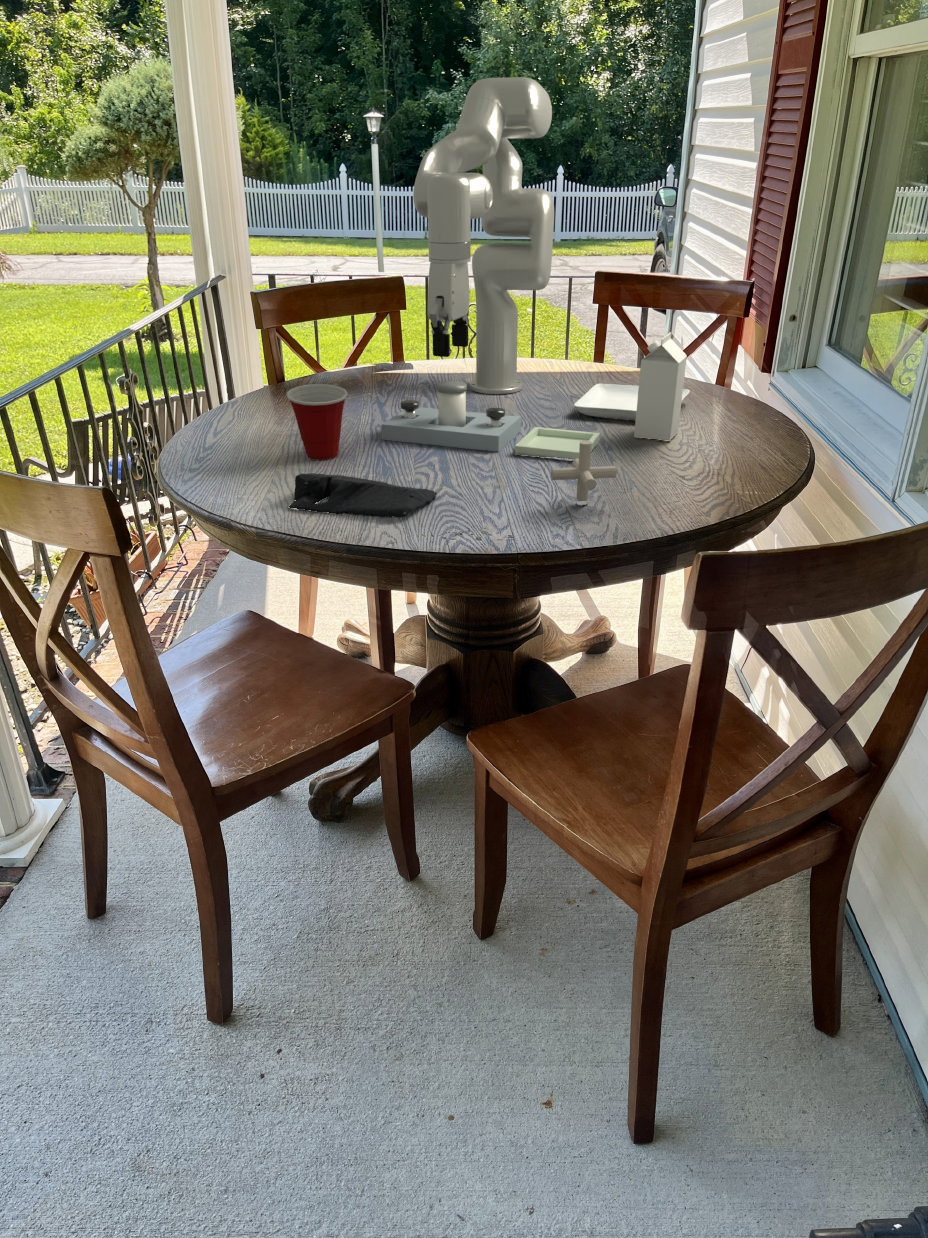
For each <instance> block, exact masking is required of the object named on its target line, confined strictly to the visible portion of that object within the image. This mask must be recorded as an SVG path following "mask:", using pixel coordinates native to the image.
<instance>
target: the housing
mask: <svg viewBox="0 0 928 1238" xmlns="http://www.w3.org/2000/svg"><path fill="white" fill-rule="evenodd" d="M415 410H416V418H415V419H409V418H405V411H404V410H403V411H400V412H399V413H397V414H396V415H394V416H392V417H391V418H389V419H388V420H386V421H385V422H383V423H381V438H382V440H387V441H394V442H402V443H403V442H404V443H413V444H422V445H431V446H439V447H449V448H460V449H467V450H469V449H470V450H477V451H486V450H487V451H488V452H495V451H498V452H500V451H502V449H504V448H505V446H506V444H507V443H508V444H509V443H510V442H511V441H512V440H513V439H514V438H515V437H516V436H517V435H519V434H520V433H521V432H520V431H522V416H519V415H518V416H516V415H507V414H505V416H504V417H501V427H491V426H490V417H487V416H486V412H474V411H466V425H465V426H464V427H456V426H446V425H439V424H438V408H434V407H433V408H431V407H422V406H421V407H420V406H419V408H418V409H415ZM519 432H520V433H519ZM518 433H519V434H518ZM509 441H510V442H509ZM508 444H507V445H508Z"/></svg>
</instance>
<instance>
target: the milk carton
mask: <svg viewBox="0 0 928 1238" xmlns="http://www.w3.org/2000/svg"><path fill="white" fill-rule="evenodd" d="M647 350H648V351H649V353H648V354H647V355H646V356H644V357H643V358H642V359H641V361H640V369H639V377H638V378H639V380H638V381H639V382H638V386H639V389H638V400H637V411H636V421H634V422H635V423H634V435H633V437H643V438H651V439H661V440H671V439H672V438H673V436H674V435H675V434H676V433H677V432H679V425H680V418H681V408H682V402H683V401H682V393H683V389H684V385H685V383H684V382H685V374H686V367H687V357H688V356H687V354H686V353H685V352H684V351H683V350H682V349H681V348H680V346H679V345H677V344H676V342H675V341H674V340H673V339H672V332H671V331H670V332H669V333H668V334H666V335H665V336H664V337H662V338H661V342H660V343H659V341H658V340H655V341H654V342H652V343H651V344H650V345H648V346H647ZM677 434H678V433H677ZM677 434H676V435H677ZM676 435H675V436H676ZM673 439H674V438H673ZM673 439H672V440H673ZM672 440H671V441H672Z"/></svg>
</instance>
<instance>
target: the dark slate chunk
mask: <svg viewBox="0 0 928 1238" xmlns="http://www.w3.org/2000/svg"><path fill="white" fill-rule="evenodd" d="M437 494H438V493H437V492H436V491H434V490H431V489H427V488H415V487H410V486H402V485H401V486H399V485H394V484H391V483H388V482H384V481H378V480H374V479H367V478H360V477H354V476H346V475H340V474H334V475H333V474H325V473H315V472H311V473H310V472H308V473H299V474H296V475H295V478H294V492H293V495H294V496H293V501H292V502H293V503H292V502H291V503H290V504H291V505H290V504H289V505H290V506H289V505H288V506H289V507H290V508H297V509H305V510H304V511H306V510H311V511H310V512H312V511H317V512H316V513H318V512H329V513H336V514H337V515H343V513H345V515H352V514H353V516H363V517H367V516H369V517H377V518H390V517H392V516H393V517H394V518H402V517H407V516H408V515H410V514H411V513H413V512H415V511H417V510H419V509H420V508H422V507H423V506H426V505H428V504H430V503H431V502H433V501H434V500H436V498H437ZM326 497H329V498H326ZM324 498H326V499H327V501H324V502H320V503H318V504H315V503H316V502H319V501H320V500H322V499H324ZM294 500H296V501H294ZM324 500H325V499H324ZM432 500H433V501H432ZM322 501H323V500H322ZM290 508H289V509H290ZM329 513H328V514H329ZM336 514H335V515H336ZM393 517H392V518H393Z"/></svg>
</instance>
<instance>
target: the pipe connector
mask: <svg viewBox="0 0 928 1238" xmlns="http://www.w3.org/2000/svg"><path fill="white" fill-rule="evenodd" d="M591 447H592V442H590V441H581V442H580V447H579V458H577V459H574V460H573V462H571V467H560V468H559V467H557V468H556V467H555V468H553V467H552V468H551V470H550V471H551V472H550V477H551V480H552V481H562V480H563V481H565V480H566V481H567V480H577V481H576V483H577V484H576V499H577V500H578V501H587V500H588V501H589V491H594V490H595V489H596V487H597V481H596V479H616V477H617V474H618V473H617V467H616V465H615V466H614V465H613V466H612V465H610V466H607V465H606V466H591V461H592V460H591V459H592V456H591V455H592V453H591ZM576 499H575V500H576Z"/></svg>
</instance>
